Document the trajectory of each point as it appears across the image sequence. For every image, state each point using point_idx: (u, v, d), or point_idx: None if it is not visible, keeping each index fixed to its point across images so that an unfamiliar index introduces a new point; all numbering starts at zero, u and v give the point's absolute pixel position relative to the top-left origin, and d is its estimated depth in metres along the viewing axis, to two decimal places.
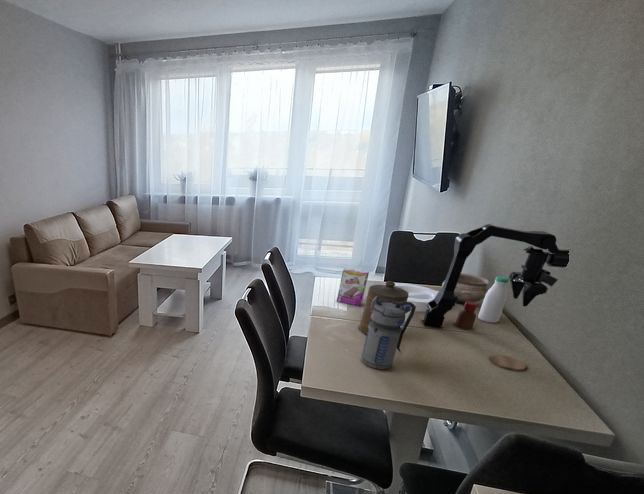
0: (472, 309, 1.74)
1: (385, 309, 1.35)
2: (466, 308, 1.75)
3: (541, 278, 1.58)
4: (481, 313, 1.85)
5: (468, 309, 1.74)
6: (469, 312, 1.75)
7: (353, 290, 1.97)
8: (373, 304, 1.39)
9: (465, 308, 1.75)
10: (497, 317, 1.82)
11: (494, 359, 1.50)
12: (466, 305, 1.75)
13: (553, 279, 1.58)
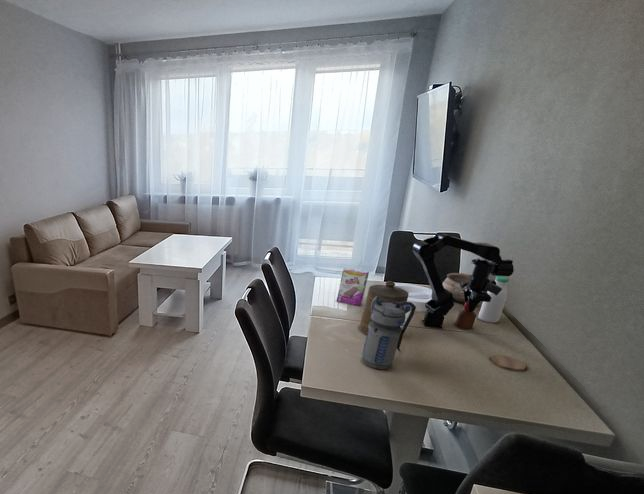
0: None
1: (385, 309, 1.35)
2: (466, 308, 1.75)
3: (486, 287, 1.68)
4: (481, 313, 1.85)
5: (468, 309, 1.74)
6: (469, 312, 1.75)
7: (353, 290, 1.97)
8: (373, 304, 1.39)
9: (465, 308, 1.75)
10: (497, 317, 1.82)
11: (494, 359, 1.50)
12: (466, 305, 1.75)
13: (497, 288, 1.67)
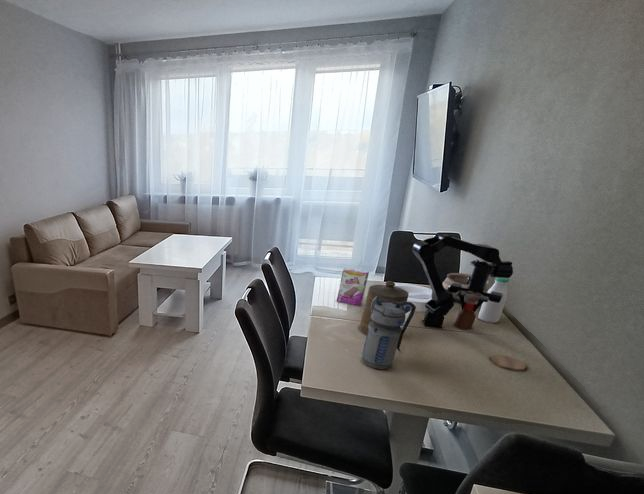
0: None
1: (385, 309, 1.35)
2: (472, 309, 1.74)
3: (485, 286, 1.72)
4: (481, 313, 1.85)
5: (473, 309, 1.74)
6: (469, 312, 1.75)
7: (353, 290, 1.97)
8: (373, 304, 1.39)
9: (470, 309, 1.74)
10: (497, 317, 1.82)
11: (494, 359, 1.50)
12: (472, 306, 1.73)
13: (486, 284, 1.75)
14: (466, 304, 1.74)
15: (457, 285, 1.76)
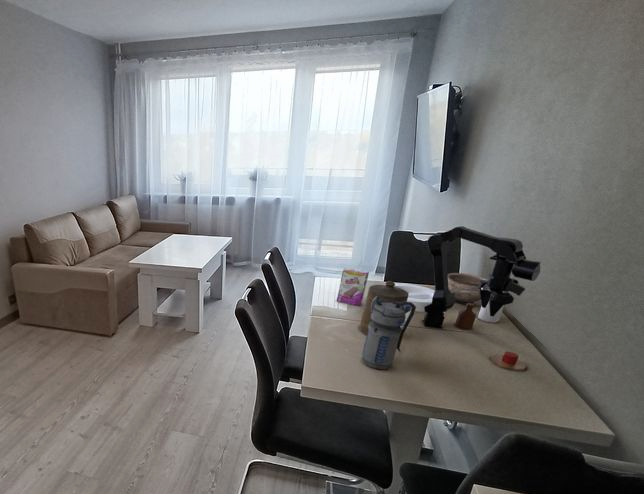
0: (509, 361, 1.47)
1: (385, 309, 1.35)
2: (503, 359, 1.49)
3: (508, 287, 1.53)
4: (481, 313, 1.85)
5: (504, 360, 1.48)
6: (469, 312, 1.75)
7: (353, 290, 1.97)
8: (373, 304, 1.39)
9: (502, 358, 1.49)
10: (497, 317, 1.82)
11: (494, 359, 1.50)
12: (504, 355, 1.49)
13: (520, 288, 1.52)
14: None
15: (489, 282, 1.62)
